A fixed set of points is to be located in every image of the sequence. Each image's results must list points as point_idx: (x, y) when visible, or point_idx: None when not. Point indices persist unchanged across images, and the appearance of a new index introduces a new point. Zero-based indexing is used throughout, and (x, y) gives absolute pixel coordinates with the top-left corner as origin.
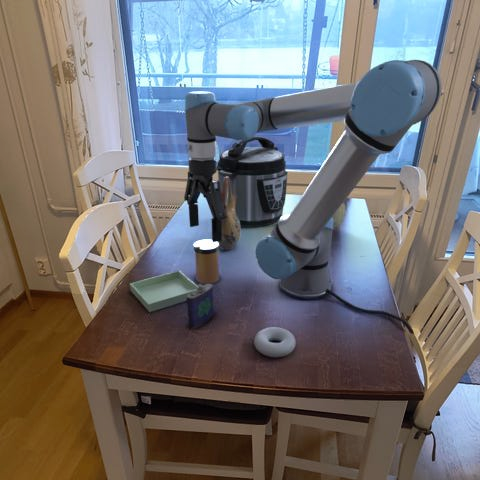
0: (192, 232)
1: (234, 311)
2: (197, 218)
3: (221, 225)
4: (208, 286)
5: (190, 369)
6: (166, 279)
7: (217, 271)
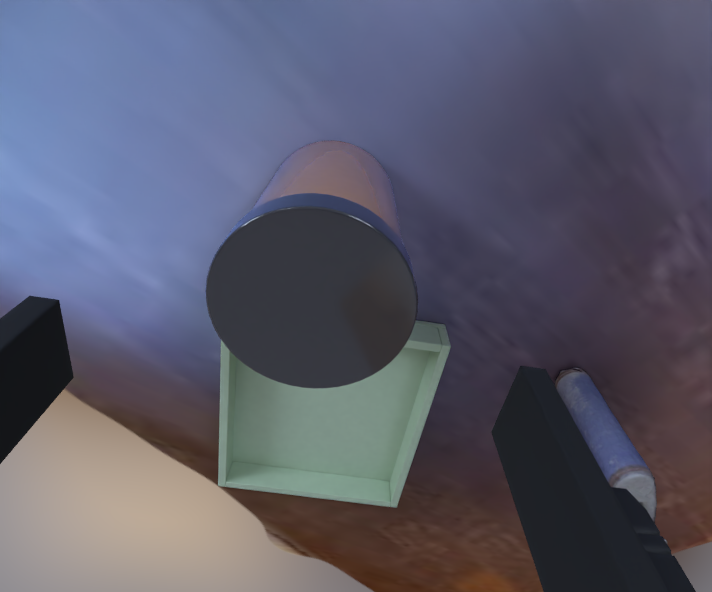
0: None
1: (643, 306)
2: (2, 365)
3: (673, 559)
4: (638, 489)
5: (689, 531)
6: (235, 358)
7: (394, 201)
